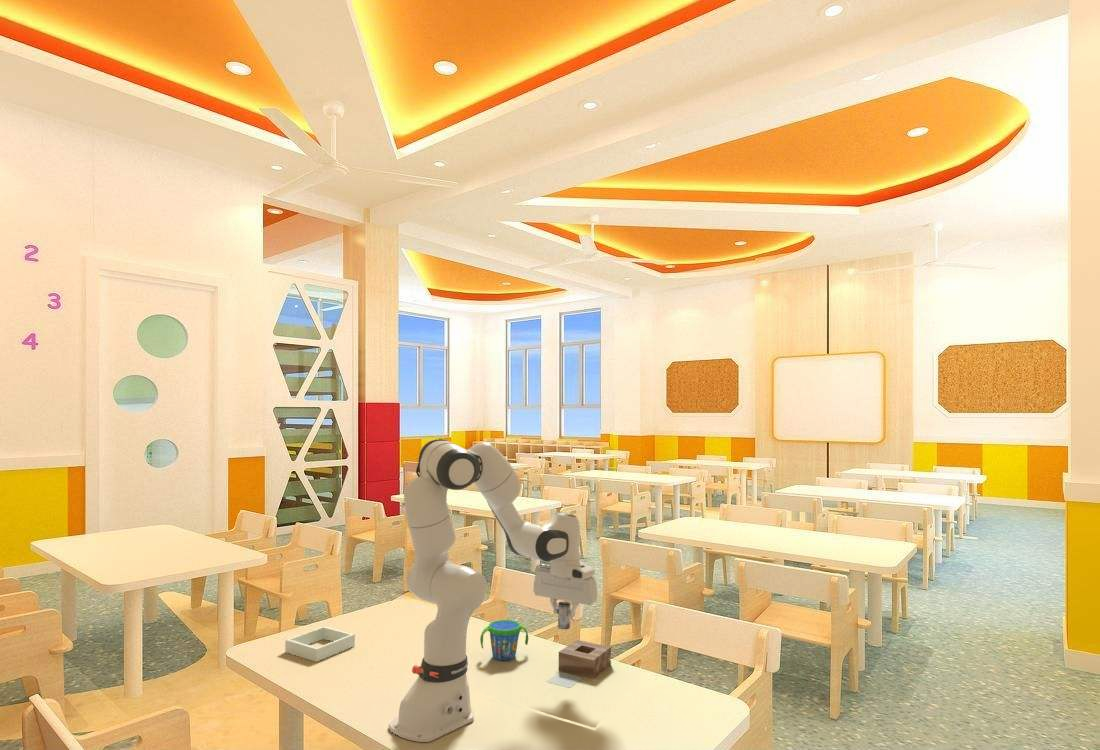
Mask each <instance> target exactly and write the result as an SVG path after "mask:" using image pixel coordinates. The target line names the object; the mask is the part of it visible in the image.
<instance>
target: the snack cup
mask: <svg viewBox="0 0 1100 750" xmlns="http://www.w3.org/2000/svg"><path fill="white" fill-rule="evenodd" d="M522 629H523V630H524V632H525V641H524V643H525V645H526V646H527V645H528V643H529V633H528V630H527V629H526V627H525V626H524V625H522V624H521V623H519V622H518V621H516V620H511V619H499V620H494V621H491V622H490V623H489V624H488V626H486V627H485V628H483V630H482V632H481V634H480V639H479V642H480V646H481V649H484V645H483V643H484V634H485V633H487V632H489V637H490V638H489V640H490V646H491V647H490V648H491V653H492V654H491V656H492V658H494V660H499V661H508V660H513V659H514V658H515V657H516V655H517V649H518V644H519V643H518V641H519V638H520V637H519V636H520V632H521V630H522Z"/></svg>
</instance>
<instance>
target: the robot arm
mask: <svg viewBox="0 0 1100 750" xmlns="http://www.w3.org/2000/svg"><path fill="white" fill-rule="evenodd" d="M419 451H420V452H419V454H418V455H419V456H418V463H417V465H416V470H415V473H416V476H417V477H416V478H414V479H412V480H410V481H409V482H408V483H407V484H406V486H405V487H404V488H403V489H404V490H403V502H404V503H403V504H404V509H405V511H404V512H405V516H406V521H407V525H408V526H407V527H408V528H409V529H408V530H409V534H410V537H411V540H412V541H411V542H412V546H413V550H414V559H413V564H412V565H411V566H410V568H409V569H408V571H407V574H406V581H405V582H406V587H407V589H408V592H410V593H411V594H413V595H414V596H416V597H417V598H419V599H420V600H422V601H425V602H428V603H432V604H435V605H436V606H437V612H436V615H435V619H433V620H432V621H430V622H429V623H428V624H427V625H426V627H425V629H424V632H423V635H424V637H423V638H424V639H423V657H422V660H421V664H420V666H419V665H418V664H414V665H413V666H412V669H411V673H412V674H416V675H418V677H417V679H416V680H415V681H414V682H413V684H412V685H411V687H410V688H409V689H408V691H407V692H406V694H405V695H404V697H403V698H402V700H401V701H400V703H399V708H398V715H397V716H396V717H395V718H394V719H392V720H391V721H390V722H389V723H388V729H390V730H389V731H390V732H391V733H392V732H393V733H392V734H393V735H395V734H396V736H397V735H398V737H400V738H402V739H406V740H409V741H412V742H417V743H418V742H419V743H429V742H432V741H434V740H436V739H438V738H441V737H442V736H445V735H447V734H449V733H451V732H453V731H455V730H457V729H459V728H461V727H464V726H465V725H467V724H470V723H472V722H473V721H474V720H475V719H474V718H475V717H474V713H473V712H472V706H471V697H470V686H469V682H468V676H467V672H468V665H469V661H468V656H467V655H468V654H467V630H468V625H469V622H470V618H471V617H472V614H473V613H474V612H475V611H476V610H477V609H478V608H480V607H481V606H482V604H483V603H484V601H485V599H486V598H487V597H486V596H487V592H488V585H487V580H486V577H484V575H483V574H482V573H480V572H479V571H477V570H475V569H473V568H471V567H469V566H465V565H460V564H457V563H452V561H451V560H450V557H449V551H450V550H451V549H452V547H454V545H455V543H456V540H457V539H456V532H455V528H454V525H453V520H452V516H451V512H450V508H449V505H448V502H447V495H448V494H447V493H448V489H449V490H453V491H454V490H455V491H459V490H464V489H466V488H468V487H469V486H471V485H472V484H474V485H475V486H476V488H477V490H479V492H480V493H481V494H482V496H483V498H484V500H486V503H487V504H488V506H489V508H490V510H491V512H492V513H493V516H494V517H495V518H496V520H497V522H498V523H499V524H500V526H501V528H502V530H503V532H504V535H505V539H506V542H507V546H508V548H509V550H510V551H511V553H513V554H514V555H517V556H519V557H520V556H521V557H527V558H530V559H533V560H538V561H540V562H541V561H542V562H549V564H544V563H540V564H539V563H538V565H536V567H535V569H534V581H533V589H532V590H533V593H534V595H535V596H539V597H542V598H543V597H544V598H549V602H550V604H551V606H552V609H553V614H555V615H558V602H557V601H558V600H560V601H563V602H569V603H570V606H572V607H571V608H570V610H568V616H569V617H570V618H574V617H576V610H577V608H578V606H579V605H580V604H581V605H586V606H591V605H594V604H595V603H596V602H597V601H598V586H597V581H596V579H595V577H594V576H595V574H596V570H595V568H594V567H592V566H590V565H588V564H586V563H585V562H583V561H582V560H581V556H580V552H579V549H580V545H581V528H580V526H581V525H580V522H579V518H578V516H576V515H574V514H572V513H565V512H554V513H553V515H552V517H551V518H550V519H549V520H548V521H547V522H545V523H543V524H541V525H539V524H536V523H535V524H534V523H531V522H529V521H526V520H525V519H523V518H522V516H521V515H520V513H519V511H518V510H517V508H516V507H515V504H513V503H514V502H515V500H517V498H518V497H519V495H520V492H521V490H522V481H521V480H520V477H519V475H518V474H517V472H516V470H515V469H514V467H513V465H511V463H510V462H509V461H508V460H507V458H506V457H505V456H504V454H503V453H502V452H500V450H499V449H497V447H495V445H494V444H492V443H490V442H487V441H481V442H478V443H476V444H473V445H472V446H471V447H469V448H468V449H465V448H463V447H461V446H460V445H458V444H456V443H454V442H452V441H448V440H445V439H433V440H430V441H428V442H426V443H424V445H423V446H422V447H421V450H419Z"/></svg>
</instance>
